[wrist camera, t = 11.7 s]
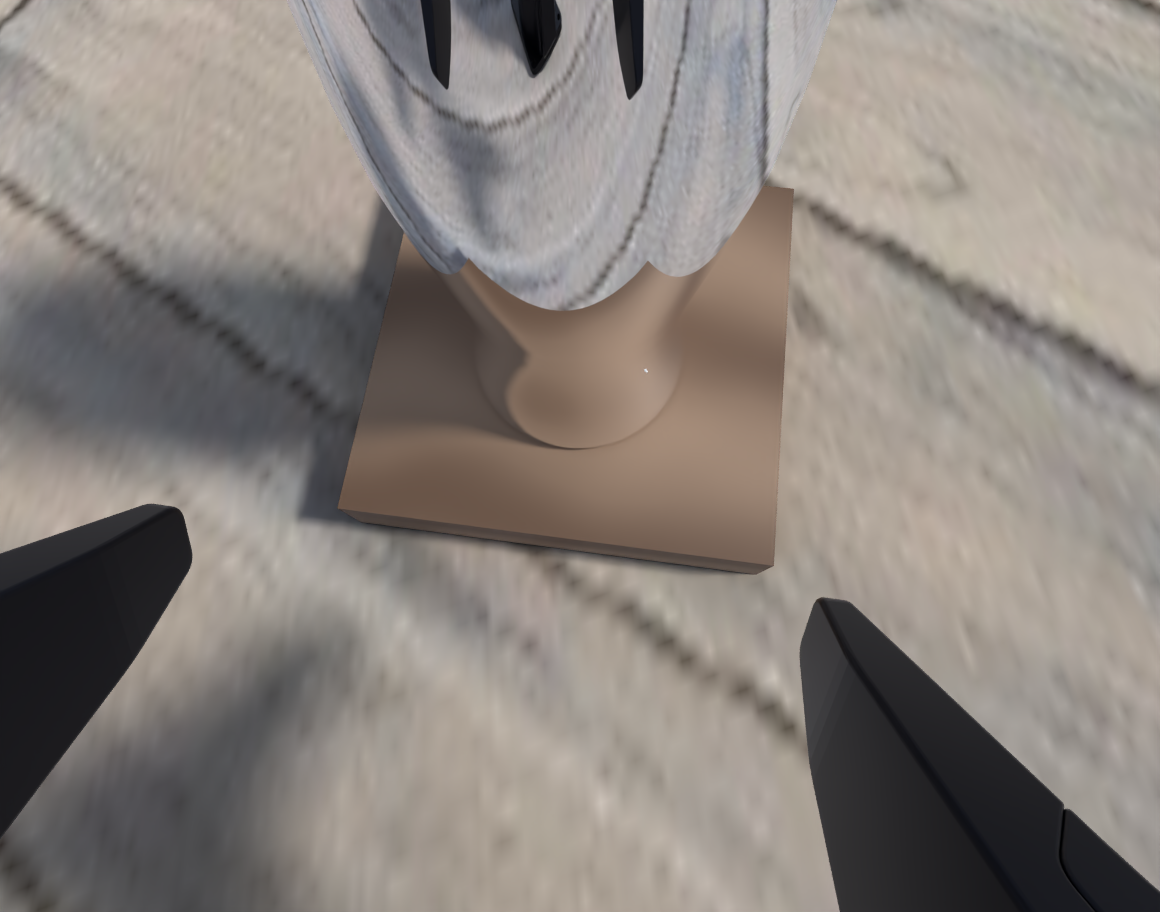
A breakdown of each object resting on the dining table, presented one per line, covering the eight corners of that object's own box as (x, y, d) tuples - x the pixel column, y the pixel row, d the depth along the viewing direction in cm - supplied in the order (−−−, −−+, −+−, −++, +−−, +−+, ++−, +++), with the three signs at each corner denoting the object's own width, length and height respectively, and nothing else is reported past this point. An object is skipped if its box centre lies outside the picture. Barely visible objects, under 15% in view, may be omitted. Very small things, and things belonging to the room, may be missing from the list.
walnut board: (756, 574, 20) (773, 565, 18) (361, 521, 20) (337, 508, 19) (776, 227, 23) (793, 189, 21) (437, 191, 24) (423, 151, 22)
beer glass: (444, 453, 19) (-17, -180, 5) (478, 240, 21) (232, -672, 7) (691, 476, 19) (1030, -127, 4) (702, 258, 21) (962, -660, 6)
